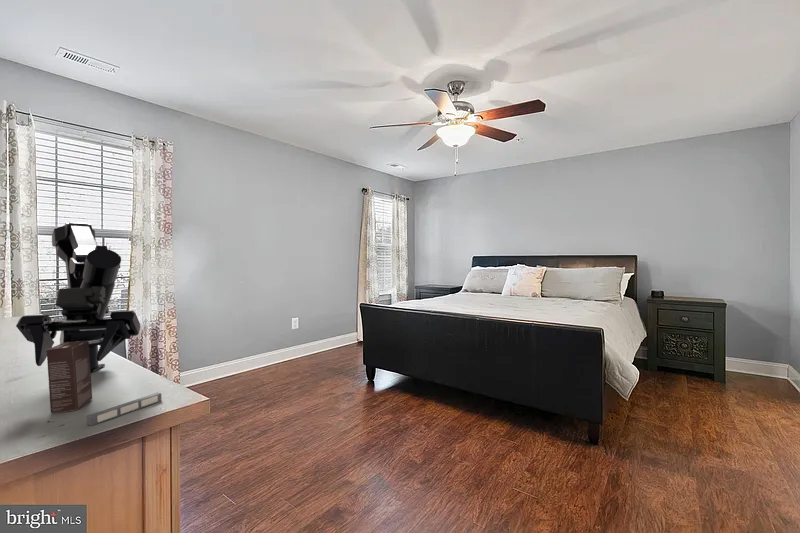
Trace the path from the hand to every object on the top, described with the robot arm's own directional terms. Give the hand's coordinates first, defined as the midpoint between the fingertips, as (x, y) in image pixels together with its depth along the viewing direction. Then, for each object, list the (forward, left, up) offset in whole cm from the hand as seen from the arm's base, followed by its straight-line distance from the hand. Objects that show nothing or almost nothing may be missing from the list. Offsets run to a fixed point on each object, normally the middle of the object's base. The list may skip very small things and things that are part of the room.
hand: (68, 362), depth 70 cm
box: (-1, 0, -9) cm, 9 cm away
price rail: (+5, +11, -9) cm, 15 cm away
